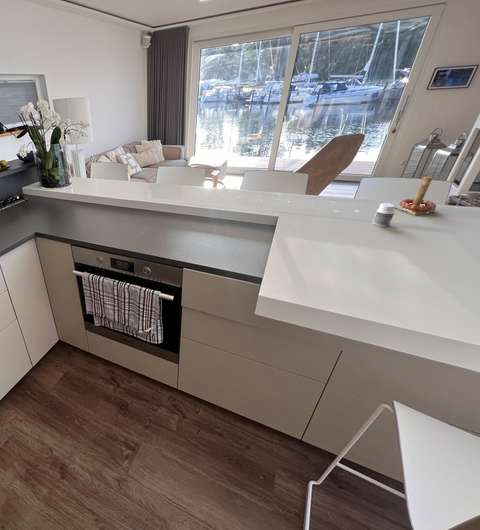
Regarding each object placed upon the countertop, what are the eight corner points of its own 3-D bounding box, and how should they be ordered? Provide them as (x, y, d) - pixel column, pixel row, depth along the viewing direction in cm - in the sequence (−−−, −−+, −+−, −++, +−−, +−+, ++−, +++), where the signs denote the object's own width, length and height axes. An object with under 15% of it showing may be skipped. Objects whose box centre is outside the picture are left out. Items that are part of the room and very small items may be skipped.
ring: (442, 209, 110) (444, 204, 109) (418, 213, 109) (420, 208, 108) (414, 201, 119) (416, 197, 118) (392, 205, 118) (393, 200, 117)
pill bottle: (388, 230, 102) (398, 207, 98) (372, 228, 105) (380, 206, 100) (387, 225, 106) (396, 203, 102) (370, 223, 108) (378, 202, 104)
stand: (434, 212, 112) (451, 178, 105) (414, 215, 111) (430, 181, 104) (412, 205, 119) (426, 173, 112) (393, 208, 118) (406, 176, 112)
